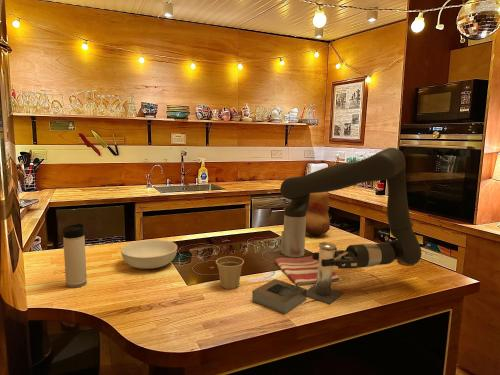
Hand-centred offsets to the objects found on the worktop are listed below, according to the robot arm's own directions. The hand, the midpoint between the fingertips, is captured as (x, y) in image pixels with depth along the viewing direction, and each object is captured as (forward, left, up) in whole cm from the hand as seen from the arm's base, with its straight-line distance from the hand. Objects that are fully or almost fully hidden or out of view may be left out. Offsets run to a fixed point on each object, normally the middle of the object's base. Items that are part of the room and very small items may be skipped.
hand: (317, 259), depth 115 cm
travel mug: (-65, -46, -12) cm, 80 cm away
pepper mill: (+13, +51, -12) cm, 54 cm away
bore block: (-7, -11, -12) cm, 17 cm away
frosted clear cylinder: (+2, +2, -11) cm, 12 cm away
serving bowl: (-62, -19, -12) cm, 66 cm away
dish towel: (-13, +15, -13) cm, 23 cm away
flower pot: (-26, -13, -12) cm, 31 cm away
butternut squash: (-34, +61, -12) cm, 71 cm away
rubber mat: (+1, +2, -12) cm, 12 cm away
